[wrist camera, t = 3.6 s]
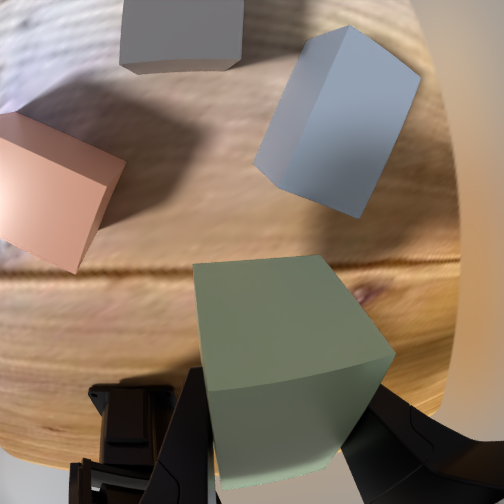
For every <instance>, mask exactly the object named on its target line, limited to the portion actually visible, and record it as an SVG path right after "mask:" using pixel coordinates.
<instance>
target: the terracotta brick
mask: <svg viewBox="0 0 504 504" xmlns="http://www.w3.org/2000/svg"><path fill="white" fill-rule="evenodd" d="M126 163H127V162H126V161H124V160H122V159H120V158H118V157H115V156H113V155H111V154H109V153H107V152H105V151H102V150H100V149H98V148H96V147H94V146H92V145H89V144H87V143H85V142H83V141H81V140H78V139H76V138H74V137H72V136H70V135H67V134H65V133H63V132H61V131H58V130H56V129H54V128H52V127H49V126H47V125H45V124H43V123H40V122H38V121H36V120H33V119H31V118H29V117H27V116H24V115H22V114H20V113H17V112H11V113H6V114H1V115H0V238H1V239H3V240H5V241H7V242H9V243H11V244H13V245H14V246H16V247H18V248H20V249H22V250H24V251H26V252H28V253H30V254H32V255H35V256H37V257H39V258H41V259H43V260H45V261H47V262H49V263H51V264H53V265H56V266H58V267H60V268H62V269H64V270H67V271H69V272H71V273H73V274H76V273H77V271H78V268H79V266H80V264H81V262H82V260H83V258H84V256H85V254H86V252H87V250H88V248H89V246H90V244H91V242H92V241H93V239H94V237H95V235H96V233H97V231H98V229H99V226H100V224H101V221H102V218H103V216H104V213H105V211H106V208H107V206H108V203H109V201H110V199H111V196H112V194H113V192H114V189H115V187H116V185H117V182H118V180H119V178H120V176H121V174H122V171H123V169H124V167H125V165H126Z"/></svg>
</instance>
